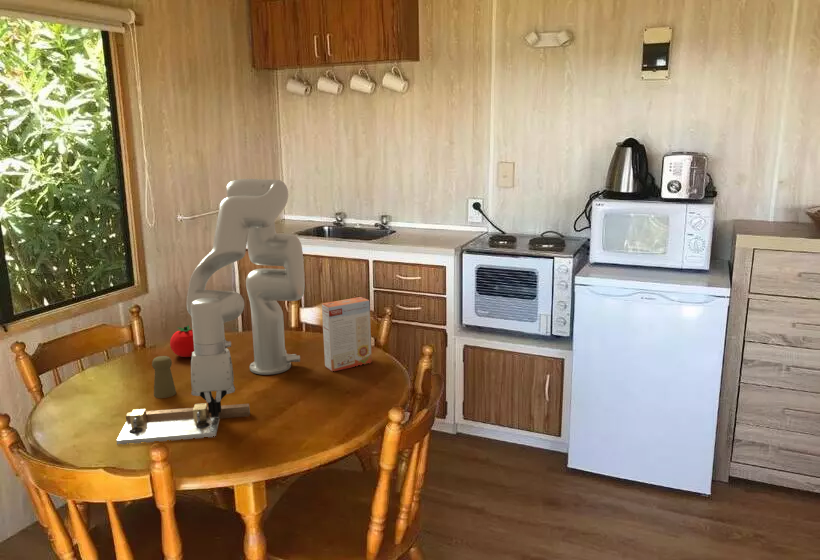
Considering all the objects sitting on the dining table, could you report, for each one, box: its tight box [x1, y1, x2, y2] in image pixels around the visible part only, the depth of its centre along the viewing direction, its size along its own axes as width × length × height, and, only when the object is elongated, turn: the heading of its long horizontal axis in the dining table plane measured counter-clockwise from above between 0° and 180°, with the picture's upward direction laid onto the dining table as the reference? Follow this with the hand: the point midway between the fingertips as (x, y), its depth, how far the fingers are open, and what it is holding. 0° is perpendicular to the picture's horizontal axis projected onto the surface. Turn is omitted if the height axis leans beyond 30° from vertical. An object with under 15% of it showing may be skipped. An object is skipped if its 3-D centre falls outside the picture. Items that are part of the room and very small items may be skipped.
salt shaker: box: [151, 355, 177, 399], centre depth 193 cm, size 6×6×11 cm
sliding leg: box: [192, 402, 208, 423], centre depth 173 cm, size 3×6×3 cm, turn 10°
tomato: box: [169, 324, 194, 358], centre depth 223 cm, size 10×10×10 cm
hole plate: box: [116, 403, 251, 446], centre depth 173 cm, size 30×14×4 cm, turn 100°
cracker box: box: [321, 296, 372, 373], centre depth 212 cm, size 14×6×21 cm, turn 121°
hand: (215, 414), depth 175 cm, fingers closed
